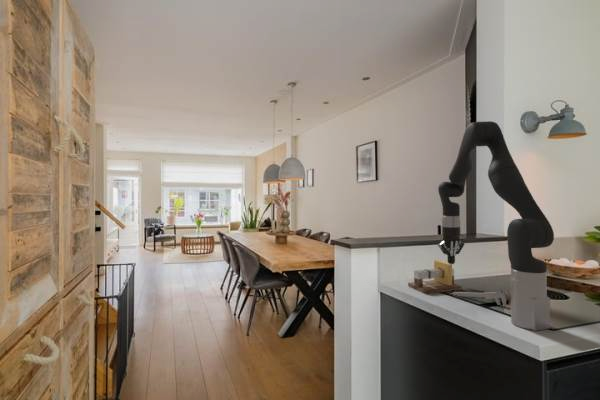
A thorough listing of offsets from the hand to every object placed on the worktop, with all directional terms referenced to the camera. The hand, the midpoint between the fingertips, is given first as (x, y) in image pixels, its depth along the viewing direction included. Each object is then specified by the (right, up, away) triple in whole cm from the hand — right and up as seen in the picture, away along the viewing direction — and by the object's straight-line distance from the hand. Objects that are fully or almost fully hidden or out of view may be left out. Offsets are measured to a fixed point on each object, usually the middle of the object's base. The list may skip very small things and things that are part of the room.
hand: (451, 263), depth 151 cm
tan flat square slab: (-6, -8, -5) cm, 11 cm away
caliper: (-1, -10, -23) cm, 25 cm away
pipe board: (-10, -10, -6) cm, 15 cm away
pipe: (-10, -5, -6) cm, 13 cm away
